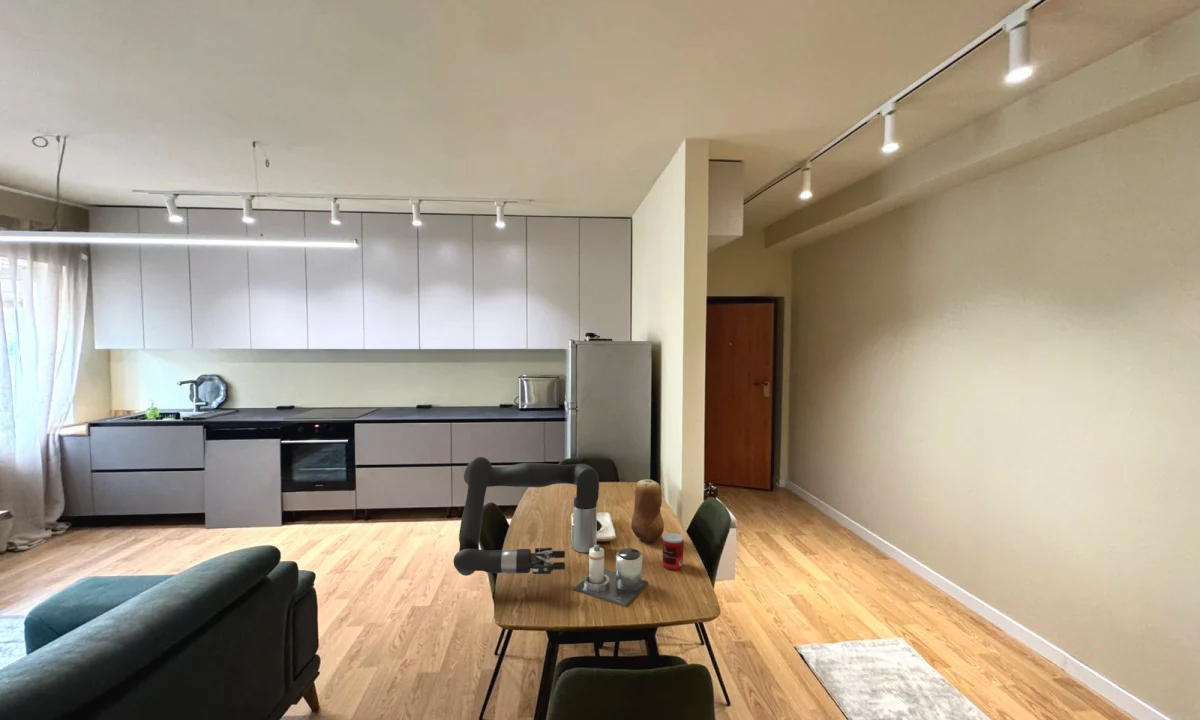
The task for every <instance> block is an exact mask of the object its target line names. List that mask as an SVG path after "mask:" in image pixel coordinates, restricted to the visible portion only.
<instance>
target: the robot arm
mask: <svg viewBox="0 0 1200 720" xmlns="http://www.w3.org/2000/svg"><path fill="white" fill-rule="evenodd" d="M599 477H600V476H599V474H598V472H597V470H596V469H595V468H593V467H592V466H591V465H589V464H586V463H576V464H554V463H543V462H542V463H541V462H521V463H516V464H512V465H508V466H501V467H500V466H492V463H491V462H490V461H489V459H487V458H486V457H483V456H476V457H474V458H472V459H471V460H470V461H469V462H468V463H467V465H466V468H465V470H464V474H463V480H464V482H465V483H466V485H467V491H466V493H467V494H466V499H465V503H464V507H463V511H462V517H461V521H460V526H459V531H458V532H459V533H458V541H459V548H458V549H459V551H457V552H456V554H455V555H454V557H453V561H452V562H453V567H454V568H455V569H456V571H457V572H458V573H459V574H460V575H462V576H471V575H473V574H474V573H475V572H485V573H488V574H529V573H530V572H531V569H532V572H531V573H532V575H551V574H552V572H553V571H556V570H557V571H560V570H561V571H563V570H566V563H565V561H558V562H556V561H555V562H552V561H550V560H551V559H565V558H566V550H554V549H553V548H552V547H538V548H537V547H536V548H534V552H532V551H531V548H508V549H499V550H498V549H496V550H494V549H493V550H486V549H480V539H481V533H482V525H483V523H482V522H483V515H484V514H483V513H484V504H485V499H486V497H485V496H486V492H487V488H492V487H493V488H494V487H515V488H517V487H518V488H519V487H520V488H521V487H522V488H544V487H549V486H553V485H557V484H567V485H574V486H576V495H575V497H574V499H573V522H572V524H571V532H570V533H571V537H570V538H571V548H572V549H573V550H574V551H576V552H579V553H589V549H590V548H593V547H594V545H598V544H597V531H598V530H597V523H598V522H597V519H598V517H597V516H598V515H597V514H598V512H597V511H598V510H597V509H598V505H597V504H598V500H599V496H600V495H599V493H600V491H599V490H600V478H599Z"/></svg>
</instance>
